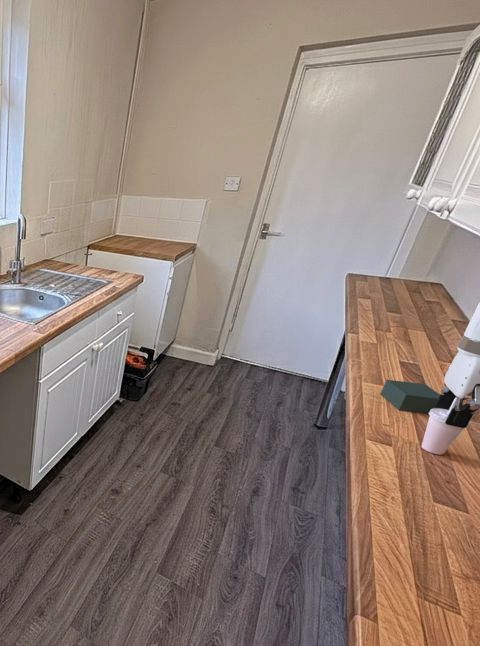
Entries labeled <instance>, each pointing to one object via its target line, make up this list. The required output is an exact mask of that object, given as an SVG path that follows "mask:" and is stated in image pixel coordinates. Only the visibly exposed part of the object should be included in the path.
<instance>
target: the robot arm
mask: <svg viewBox="0 0 480 646" xmlns="http://www.w3.org/2000/svg"><path fill="white" fill-rule="evenodd" d="M456 350H457V353H456V355H455V356H454V358H453V360H452V361H451V363H450V365H449V366H448V369H447V371H446V373H445V375H444V378H443V383H444V387H442V389H441V391H440V393H439V394H440V396H439V398H438V400H437V402H436V404H435V406H434V408H440V409H446V410H449V409H450V407H451V405H452V403H453V401H454V399H455V397H457V402H456V405H455V407H454V408H452V409H451V411H450V413H449V415H448V417H447V419H446V421H445V423H446V424H447V425H451V426H455V427H460V428H464V429H466V428H467V427H468V426H467V425H468V423H469V421H470V422H471V419H472V418H473V416H474V415H475V414H476V413H477V411H478V410H480V301H479V302H478V304H477V306H476V308H475V311H474V312H473V314H472V316H471V319H470V320H469V322H468V324H467V327H466V329H465V331H464V333H463V335H462V337H461V339H460V341H459V343H458V344H457V347H456ZM465 396H469V398H468V397H465ZM470 397H471V398H470ZM464 401H466V402H469V403H466V402H465V403H464ZM469 424H470V423H469Z"/></svg>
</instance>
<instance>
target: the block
mask: <svg viewBox="0 0 480 646" xmlns="http://www.w3.org/2000/svg"><path fill="white" fill-rule="evenodd" d="M440 394H441V393H439V392H437V391H436V390H435V389H433V388H431V387H430V386H429V385H427V384H426V383H419V382H412V381H411V382H410V381H403V380H393V379H386V380H385V382H384V385H383V387H382V389H381V391H380V394H379V395H380V396H381V397H383V398H384V399H385V400H386V401H387V402H388V403H389V404H391V405H392V406H393V407H394V408H396V409H397V410H398V411H402V412H410V413H411V412H412V413H418V414H424V415H425V414H427V415H429V412H430V410H431V409H434V406H435V404H436V402H437V400H438V398H439V396H440Z"/></svg>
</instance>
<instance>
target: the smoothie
mask: <svg viewBox="0 0 480 646" xmlns="http://www.w3.org/2000/svg"><path fill="white" fill-rule="evenodd" d="M456 402H457V397H455V399H454V401H453V403H452V405H451V407H450V409H449V410H446V409H440V408H434V409H431V410H430V412H429V414H428V416H429V418H428V420H427V424H426V429H425V432H424V436H423V439H422V443H421V448H422V449H423V450H424V451H426V452H429V453H431V454H433V455H434V454H435V455H440V456H441V455H444V454H445V453H446V451H447V450H448V449H449V448H450V447H451V446H452V444H453V443H454V441H455V440H456V439H457V438H458V436H460V434H461V432H463V430H464V429H465V428H460V427H455V426H451V425H447V424H446V423H445V421H446V419H447V417H448V415H449V413H450V411H451V409H452V408H454V407H455V405H456ZM470 424H471V420H470V421H469V423H468V425H467V427H469V426H470Z"/></svg>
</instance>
